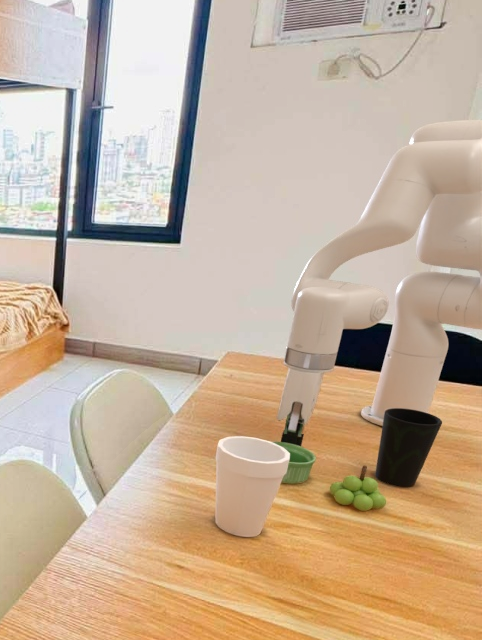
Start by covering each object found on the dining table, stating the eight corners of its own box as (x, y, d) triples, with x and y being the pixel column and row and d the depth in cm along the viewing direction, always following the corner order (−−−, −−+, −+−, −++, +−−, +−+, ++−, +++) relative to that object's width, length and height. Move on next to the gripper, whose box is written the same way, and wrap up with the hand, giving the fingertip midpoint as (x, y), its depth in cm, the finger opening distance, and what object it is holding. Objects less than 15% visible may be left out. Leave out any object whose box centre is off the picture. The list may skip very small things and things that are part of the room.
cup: (432, 492, 105) (453, 426, 101) (381, 488, 107) (399, 423, 103) (407, 471, 112) (425, 409, 108) (359, 468, 114) (376, 406, 110)
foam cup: (266, 515, 99) (283, 440, 95) (279, 547, 91) (297, 467, 86) (201, 506, 102) (213, 433, 98) (207, 536, 94) (221, 458, 89)
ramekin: (277, 459, 118) (282, 438, 116) (323, 480, 110) (328, 457, 108) (241, 467, 115) (245, 445, 113) (285, 489, 107) (290, 466, 105)
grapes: (323, 488, 107) (332, 453, 105) (371, 494, 105) (381, 458, 103) (338, 510, 100) (348, 473, 98) (389, 517, 98) (401, 479, 96)
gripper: (291, 345, 118) (272, 434, 124) (278, 365, 107) (258, 462, 113) (338, 352, 114) (317, 444, 120) (330, 373, 102) (307, 473, 109)
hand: (288, 452), depth 116 cm, fingers closed
